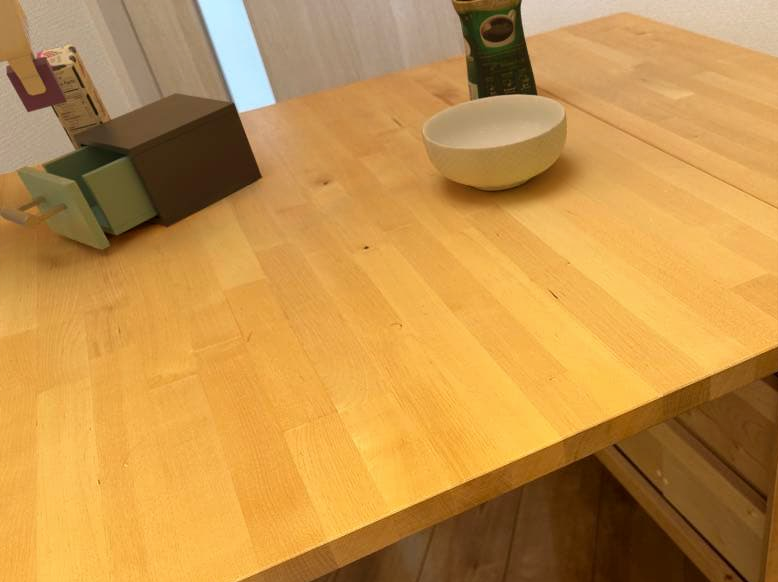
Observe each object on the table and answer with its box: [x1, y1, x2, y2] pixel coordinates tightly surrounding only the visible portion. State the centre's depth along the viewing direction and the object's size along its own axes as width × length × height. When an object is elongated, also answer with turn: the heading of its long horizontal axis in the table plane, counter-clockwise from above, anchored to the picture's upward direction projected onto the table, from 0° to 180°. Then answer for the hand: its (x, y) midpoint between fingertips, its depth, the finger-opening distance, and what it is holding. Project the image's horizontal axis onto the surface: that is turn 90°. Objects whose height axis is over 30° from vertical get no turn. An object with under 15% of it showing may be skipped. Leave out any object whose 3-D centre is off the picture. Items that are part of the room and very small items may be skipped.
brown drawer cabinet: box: [73, 93, 263, 228], centre depth 97 cm, size 15×13×10 cm
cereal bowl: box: [421, 95, 568, 192], centre depth 89 cm, size 17×17×7 cm
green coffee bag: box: [451, 0, 538, 101], centre depth 105 cm, size 10×8×19 cm
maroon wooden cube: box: [6, 57, 67, 113], centre depth 82 cm, size 4×4×4 cm
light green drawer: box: [0, 145, 157, 251], centre depth 90 cm, size 18×12×8 cm, turn 145°
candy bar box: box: [35, 43, 112, 151], centre depth 102 cm, size 11×5×16 cm, turn 25°
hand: (37, 87), depth 83 cm, fingers closed on maroon wooden cube, 4 cm apart
